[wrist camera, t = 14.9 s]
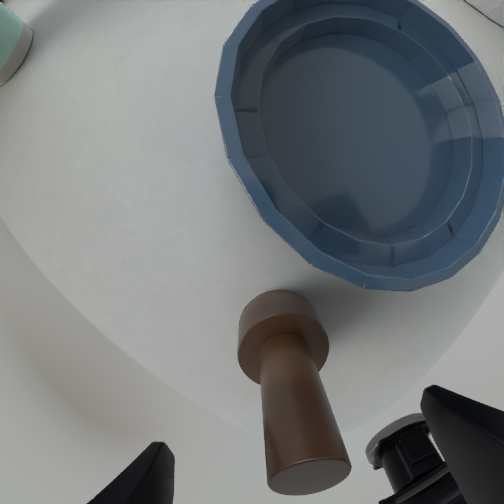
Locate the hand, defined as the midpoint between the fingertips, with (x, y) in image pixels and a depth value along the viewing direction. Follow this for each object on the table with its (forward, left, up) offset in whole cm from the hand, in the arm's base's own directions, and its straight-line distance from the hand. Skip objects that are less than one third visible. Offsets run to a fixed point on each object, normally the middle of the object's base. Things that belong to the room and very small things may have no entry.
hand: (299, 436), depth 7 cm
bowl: (+10, -7, -8) cm, 15 cm away
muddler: (0, 0, -8) cm, 8 cm away
